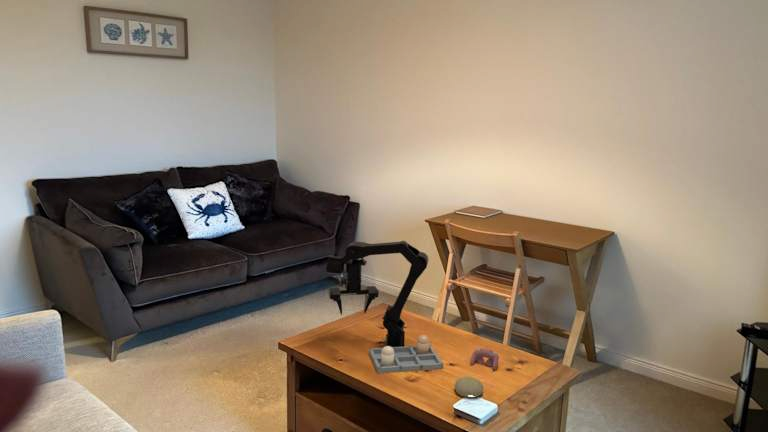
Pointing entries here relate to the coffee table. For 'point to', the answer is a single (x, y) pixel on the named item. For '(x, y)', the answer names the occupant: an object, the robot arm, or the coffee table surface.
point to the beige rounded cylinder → (422, 345)
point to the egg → (387, 356)
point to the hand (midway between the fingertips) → (353, 313)
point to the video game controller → (486, 353)
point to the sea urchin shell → (468, 386)
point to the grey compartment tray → (407, 360)
